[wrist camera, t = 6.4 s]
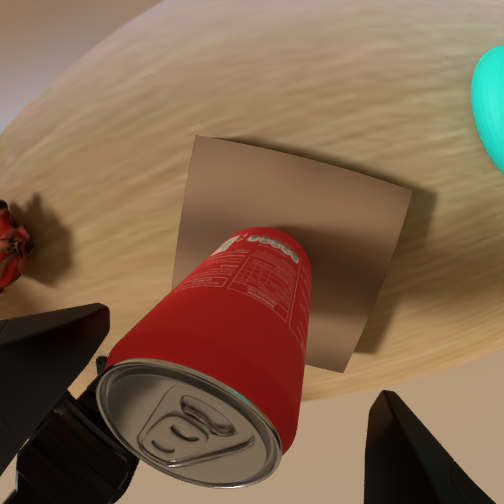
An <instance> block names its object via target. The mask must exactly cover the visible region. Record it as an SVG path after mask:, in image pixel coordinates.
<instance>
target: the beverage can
mask: <svg viewBox="0 0 504 504" xmlns="http://www.w3.org/2000/svg"><path fill="white" fill-rule="evenodd" d="M311 284H312V270H311V265H310V261H309V259H308V256H307V254H306V252H305V251H304V249H303V248H302V247H301V245H300V244H299V243H298V242H297V241H296V240H295V239H293V238H292V237H291V236H289V235H288V234H286V233H284V232H282V231H280V230H277V229H274V228H269V227H251V228H247V229H244V230H241V231H239V232H237V233H235V234H234V235H232V236H231V237H230V238H229V239H228V240H226V241H225V242H224V243H223V244H222V245H221V246H220V247H219V248H218V249H217V250H215V251H214V252H213V253H212V254H211V255H210V256H209V257H208V258H207V259H206V260H205V261H203V262H202V263H201V264H200V265H199V266H198V267H197V268H196V269H195V270H194V271H193V272H192V273H190V274H189V275H188V276H187V277H186V278H185V279H184V280H183V281H182V282H181V283H180V284H179V285H178V286H177V287H175V288H174V289H173V290H172V291H171V292H170V293H169V294H168V295H167V296H166V297H165V298H164V299H163V300H162V301H161V302H160V303H158V304H157V305H156V306H155V307H154V308H153V309H152V310H151V311H150V312H149V313H148V314H147V315H146V316H145V317H144V318H143V319H142V320H141V321H140V322H138V323H137V324H136V325H135V326H134V327H133V328H132V329H131V330H130V331H129V332H128V333H127V334H126V335H125V336H124V337H123V338H122V339H121V340H120V341H119V342H118V343H117V344H116V345H115V346H114V347H113V349H112V350H111V352H110V354H109V356H108V359H107V362H106V368H105V371H104V372H103V373H102V374H101V376H100V378H99V380H98V383H97V387H96V399H97V404H98V407H99V410H100V413H101V415H102V417H103V419H104V421H105V423H106V424H107V426H108V427H109V429H110V430H111V432H112V433H113V434H114V435H115V437H116V438H117V439H118V440H119V441H120V442H121V443H122V444H123V445H124V446H125V447H126V448H127V449H128V450H129V451H130V452H132V453H133V454H134V455H135V456H137V457H138V458H139V459H141V460H142V461H144V462H145V463H147V464H148V465H150V466H151V467H153V468H155V469H157V470H159V471H160V472H162V473H165V474H167V475H169V476H171V477H173V478H176V479H179V480H181V481H184V482H188V483H191V484H195V485H199V486H204V487H208V488H219V489H231V488H241V487H247V486H250V485H254V484H257V483H259V482H261V481H263V480H265V479H266V478H268V477H269V476H270V475H272V474H273V473H274V472H275V470H276V469H277V468H278V466H279V464H280V461H281V457H282V455H284V454H285V452H286V451H287V450H288V449H289V448H290V446H291V445H292V443H293V441H294V438H295V435H296V431H297V424H298V417H299V410H300V402H301V393H302V385H303V376H304V367H305V357H306V347H307V336H308V324H309V312H310V299H311Z"/></svg>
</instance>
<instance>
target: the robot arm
mask: <svg viewBox="0 0 504 504" xmlns="http://www.w3.org/2000/svg"><path fill="white" fill-rule="evenodd" d="M109 330H110V311H109V308H108V307H107V306H105V305H103V304H101V303H93V304H88V305H83V306H77V307H72V308H67V309H61V310H56V311H51V312H45V313H40V314H34V315H28V316H23V317H17V318H11V319H5V320H0V476H1V475H2V473H3V472H4V471H5V469H6V468H7V466H8V465H9V464H10V462H11V461H12V459H13V458H14V457H15V456H16V454H17V453H18V454H17V462H16V479H15V489H14V490H13V491H12V492H11V493H10V495H9V496H8V497H7V498H6V499H5V501H4V502H3V503H2V504H114V503H115V502H117V501H118V500H119V499H120V498H121V496H122V495H123V494H124V493H125V491H126V490H127V488H128V486H129V484H130V482H131V479H132V477H133V475H134V472H135V470H136V468H137V465H138V463H139V460H140V459H139V458H138V457H137V456H135V455H134V454H133V453H132V452H130V451H129V450H128V449H127V448H126V447H125V446H124V445H123V444H122V443H121V442H120V441H119V440H118V439H117V438H116V437H115V435H114V434H113V433H112V432H111V430H110V429H109V427H108V426H107V424H106V423H105V421H104V419H103V417H102V415H101V413H100V410H99V407H98V404H97V399H96V387H97V383H98V380H99V378H100V376H101V374H102V373H103V372H104V371H105V368H106V362H107V359H105V358H103V357H101V356H99V357H98V358H97V359H96V366H97V374H98V376H97V377H96V378H95V379H94V380H93V381H92V382H91V383H90V384H89V385H88V387H87V389H86V390H85V391H84V392H83V393H82V394H81V395H80V396H79V397H78V398H77V399H75V398H74V397H73V396H72V395H71V393H70V392H69V391H68V390H67V389H68V387H69V386H70V385H71V384H72V383H73V381H74V380H75V379H76V378H77V377H78V375H79V374H80V373H81V372H82V371H83V369H84V368H85V367H86V366H87V364H88V363H89V361H90V360H91V358H92V357H93V355H94V354H95V352H96V351H97V349H98V348H99V346H100V345H101V343H102V342H103V340H104V339H105V337H106V336H107V335H108V333H109ZM27 439H29V440H28V441H27ZM26 441H27V443H26V444H25V445H24V443H25V442H26ZM23 445H24V446H23ZM22 446H23V447H22ZM21 447H22V448H21ZM20 448H21V449H20ZM364 504H496V503H495V502H494V501H493V500H492V499H491V498H490V497H489V496H488V495H486V494H485V492H483V491H482V490H481V489H480V488H479V487H478V486H477V485H476V484H475V483H474V482H473V481H472V480H471V479H470V478H469V476H468V475H467V474H466V473H465V472H464V471H463V470H462V469H461V467H460V466H459V465H458V464H457V463H456V462H455V461H454V459H453V458H452V457H451V456H450V455H449V453H448V452H447V451H446V450H445V449H444V448H443V447H442V445H441V444H440V443H439V442H438V441H437V440H436V438H435V437H434V436H433V435H432V434H431V433H430V431H429V430H428V429H427V428H426V427H425V426H424V425H423V423H422V422H421V421H420V420H419V419H418V418H417V417H416V415H414V413H413V412H412V411H411V410H410V408H409V407H408V406H407V405H406V404H405V403H404V402H403V401H402V399H401V398H400V397H399V396H398V395H397V394H396V393H395V392H393V391H387V390H383V391H381V393H380V394H379V396H378V397H377V399H376V400H375V402H374V403H373V405H372V407H371V409H370V411H369V419H368V429H367V438H366V448H365V479H364Z"/></svg>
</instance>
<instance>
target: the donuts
mask: <svg viewBox="0 0 504 504" xmlns="http://www.w3.org/2000/svg"><path fill="white" fill-rule="evenodd" d="M471 102H472V110H473V116H474V120H475V124H476V127H477V130H478V133H479V136H480V138H481V141H482V143H483V145H484V147H485V149H486V151H487V153H488V155H489V156H490V158H491V159H492V161H493V162H494V164H495V165H496V167H497V168H498V169H499V170H500V171H501V172H502V173H503V174H504V45H499V46H496V47H494V48H492V49H490V50H489V51H487V52H486V53H485V54H484V55H483V56H482V57H481V59H480V60H479V62H478V64H477V66H476V68H475V71H474V74H473V78H472V86H471Z"/></svg>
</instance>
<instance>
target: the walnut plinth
mask: <svg viewBox="0 0 504 504" xmlns="http://www.w3.org/2000/svg"><path fill="white" fill-rule="evenodd" d="M412 192H413V191H412V190H409V189H407V188H404V187H401V186H398V185H395V184H392V183H389V182H386V181H383V180H380V179H377V178H374V177H370V176H367V175H364V174H361V173H358V172H354V171H351V170H347V169H344V168H341V167H337V166H333V165H330V164H326V163H323V162H319V161H315V160H311V159H307V158H303V157H299V156H295V155H291V154H287V153H283V152H279V151H274V150H270V149H265V148H261V147H256V146H251V145H247V144H242V143H237V142H231V141H226V140H221V139H215V138H210V137H204V136H198V135H196V136H195V141H194V146H193V151H192V157H191V162H190V167H189V173H188V178H187V184H186V190H185V196H184V202H183V208H182V214H181V221H180V227H179V234H178V241H177V248H176V256H175V264H174V272H173V280H172V289H171V291H172V290H173V289H174V288H175V287H177V286H178V285H179V284H180V283H181V282H182V281H183V280H184V279H185V278H186V277H187V276H188V275H189V274H190V273H192V272H193V271H194V270H195V269H196V268H197V267H198V266H199V265H200V264H201V263H202V262H203V261H205V260H206V259H207V258H208V257H209V256H210V255H211V254H212V253H213V252H214V251H215V250H217V249H218V248H219V247H220V246H221V245H222V244H223V243H224V242H225V241H226V240H228V239H229V238H230V237H231V236H232V235H234V234H235V233H237V232H239V231H241V230H244V229H247V228H251V227H269V228H274V229H277V230H280V231H282V232H284V233H286V234H288V235H289V236H291V237H292V238H293V239H295V240H296V241H297V242H298V243H299V244H300V245H301V247H302V248H303V249H304V251H305V252H306V254H307V256H308V259H309V261H310V265H311V270H312V284H311V299H310V312H309V324H308V336H307V347H306V357H305V364H306V365H310V366H314V367H318V368H322V369H327V370H331V371H335V372H340V373H343V372H344V370H345V368H346V366H347V364H348V362H349V360H350V358H351V356H352V354H353V352H354V349H355V347H356V345H357V343H358V341H359V339H360V336H361V334H362V332H363V330H364V327H365V325H366V323H367V320H368V318H369V316H370V313H371V311H372V309H373V306H374V304H375V301H376V299H377V296H378V294H379V291H380V289H381V286H382V283H383V281H384V278H385V276H386V273H387V270H388V267H389V265H390V262H391V259H392V256H393V253H394V250H395V247H396V245H397V242H398V238H399V235H400V232H401V229H402V226H403V223H404V220H405V216H406V213H407V210H408V206H409V203H410V199H411V196H412Z"/></svg>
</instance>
